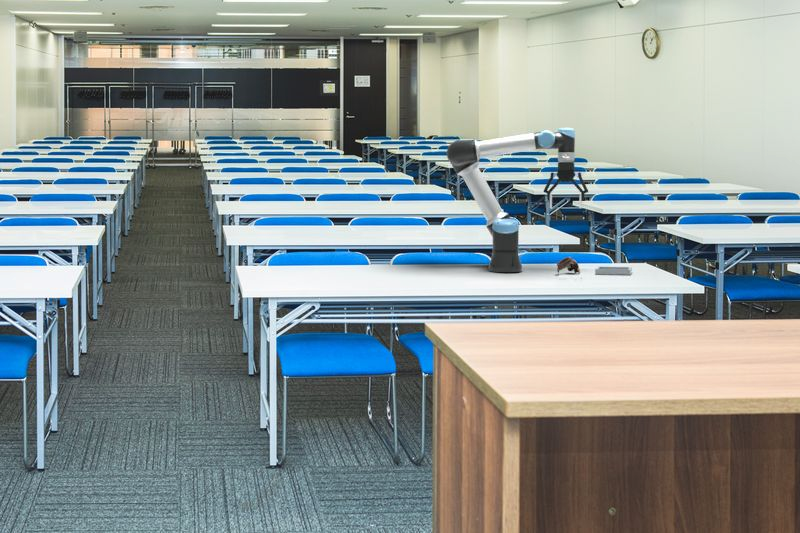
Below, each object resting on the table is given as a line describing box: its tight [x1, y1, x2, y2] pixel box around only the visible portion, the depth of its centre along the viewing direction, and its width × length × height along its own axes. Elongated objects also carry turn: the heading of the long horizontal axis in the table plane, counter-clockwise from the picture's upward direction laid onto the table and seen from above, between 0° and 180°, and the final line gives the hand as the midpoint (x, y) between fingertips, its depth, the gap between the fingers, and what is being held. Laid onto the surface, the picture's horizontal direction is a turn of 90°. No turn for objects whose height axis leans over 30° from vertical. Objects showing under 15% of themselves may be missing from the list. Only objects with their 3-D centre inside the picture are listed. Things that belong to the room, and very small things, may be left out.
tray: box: [594, 266, 633, 276], centre depth 477 cm, size 15×16×2 cm
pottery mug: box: [556, 256, 581, 274], centre depth 478 cm, size 12×9×8 cm
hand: (565, 208), depth 495 cm, fingers open, 13 cm apart
